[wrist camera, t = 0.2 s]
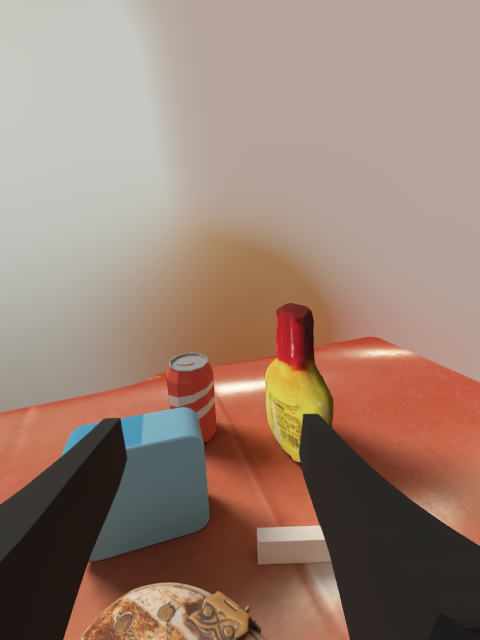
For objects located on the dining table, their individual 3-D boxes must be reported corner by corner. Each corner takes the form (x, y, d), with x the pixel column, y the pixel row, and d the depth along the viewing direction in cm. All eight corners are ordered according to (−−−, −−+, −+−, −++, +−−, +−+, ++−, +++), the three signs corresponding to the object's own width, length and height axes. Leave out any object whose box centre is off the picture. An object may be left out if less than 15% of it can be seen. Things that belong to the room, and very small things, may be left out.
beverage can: (179, 419, 44) (171, 350, 41) (219, 420, 44) (215, 351, 40) (167, 448, 39) (157, 372, 35) (213, 450, 38) (208, 372, 34)
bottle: (254, 421, 44) (253, 296, 37) (289, 410, 46) (294, 291, 39) (296, 482, 33) (306, 324, 27) (339, 465, 36) (358, 315, 29)
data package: (203, 490, 33) (196, 403, 29) (210, 528, 29) (203, 433, 25) (91, 520, 30) (65, 427, 26) (80, 567, 26) (48, 466, 22)
